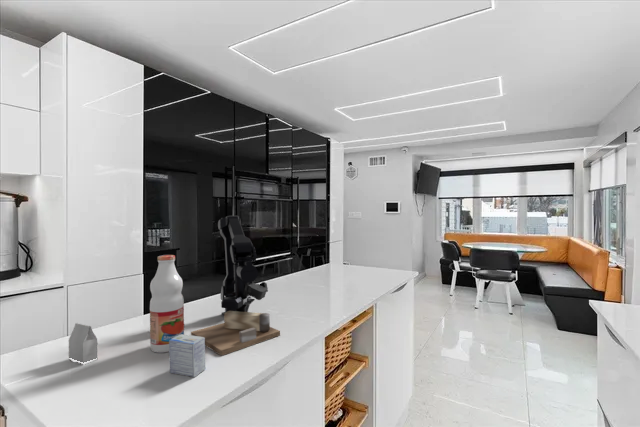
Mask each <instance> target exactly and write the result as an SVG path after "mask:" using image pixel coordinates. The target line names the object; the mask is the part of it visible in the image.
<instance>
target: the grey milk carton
mask: <svg viewBox="0 0 640 427" xmlns="http://www.w3.org/2000/svg"><path fill="white" fill-rule="evenodd" d="M69 358H72V359H74V360H77V361H80V362H83V363H84V362H87V361H90V360H93V359H96V358H97V359H98V338H97V336H96V335H95V332H94V331H93V329H92V326H91V325H86V324H83V323H78V322H75V324H74V327H73V330H72V332H71V334H70V336H69V338H68V359H69Z"/></svg>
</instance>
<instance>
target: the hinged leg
mask: <svg viewBox="0 0 640 427" xmlns="http://www.w3.org/2000/svg"><path fill="white" fill-rule="evenodd" d="M223 316H224V317H223V318H224V319H223V320H224V322H223V323H224V328H230V329H241V330H247V329H250V328H256V331H260V332H266V331H269V330H270V327H271V324H270V323H271V322H270V316H271V315H270V313H267V312H263V313H262V312H253V311H252V312H250V311H248V312H239V311H228V312H226V313H224V315H223Z"/></svg>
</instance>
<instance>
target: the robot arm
mask: <svg viewBox="0 0 640 427" xmlns="http://www.w3.org/2000/svg"><path fill="white" fill-rule="evenodd" d="M241 222H242V221H241V217H240V216H239V215H227V216H225V217H221V218H220V219H219V220H218V222H217V227H218V230H219V234H220V235H221V237H222V238H223V240H224V251H225V253H224V254H225V270H226V271H225V272H226V276H225V278H224V280H223V281H222V285H221V289H220V290H221V291H220V299H221V300H220V302H221V305H220V307H221V308H222V309H224V311H222V312H221V315H223V316H224V313H226V312H228V311H239V312H249V308H250V305H251V304H252V303H253V302H254V301H255V300H257V301H261V300H263V299H264V298H265V297H266V293H267V292H268V291H269V290H268V288H269V287H268V283H267V282H265V281H262V282H260V283H255V280H256V279H257V278H258V274H259V272H258V271H259V270H258V269H257V267H256V266H255V265H254V264H253V262H257V257H258V255H257V252H256V248H255V246H254V244H253V243H252V240H251V239H250V238H249V237H247V236H245V232H244V230H243V228H242V223H241Z"/></svg>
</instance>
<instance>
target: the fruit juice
mask: <svg viewBox="0 0 640 427" xmlns="http://www.w3.org/2000/svg"><path fill="white" fill-rule="evenodd" d="M156 261H157V262H158V266H157V270H156V272H155V275H154V277H153V278H152V279H151V281H150V285H149V290H150V293H151V298H150V301H149V331H150V332H149V335H150V336H149V337H150V339H149V341H150V342H149V343H150V350H151V351H152V352H154V353H161V354H162V353H169V340H171V339H172V338H174V337H176V336H178V335H181V334H184V335H185V317H184V316H185V314H184V313H185V306H184V305H185V303H184V302H185V301H184V296H183V294H182V290H183V285H184V283H183V278H182V277H181V276H180V275H179V273H178V271H177V268H176V265H175V261H176V255H174V254H163V255H159V256H157V260H156Z"/></svg>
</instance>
